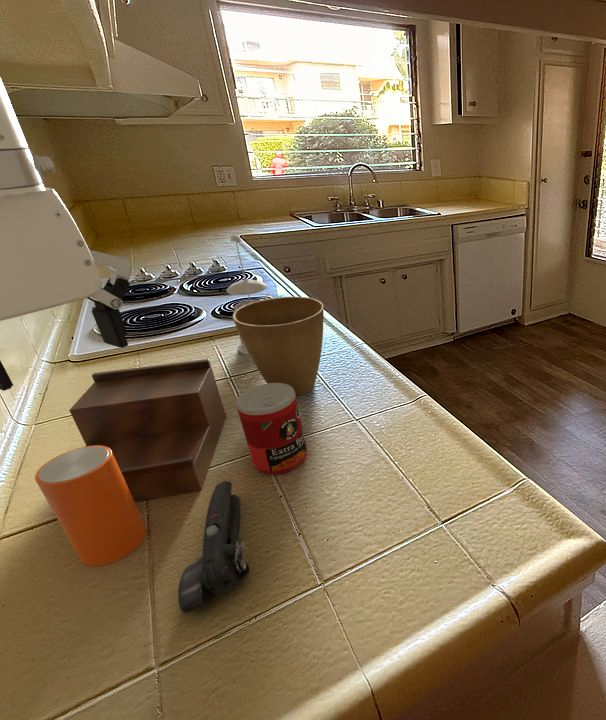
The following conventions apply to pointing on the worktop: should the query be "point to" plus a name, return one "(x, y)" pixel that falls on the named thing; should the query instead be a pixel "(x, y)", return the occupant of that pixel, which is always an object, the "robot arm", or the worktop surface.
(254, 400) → the canned food
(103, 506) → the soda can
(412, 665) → the worktop surface
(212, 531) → the can opener
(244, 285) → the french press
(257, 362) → the plant pot
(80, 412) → the step shelf
